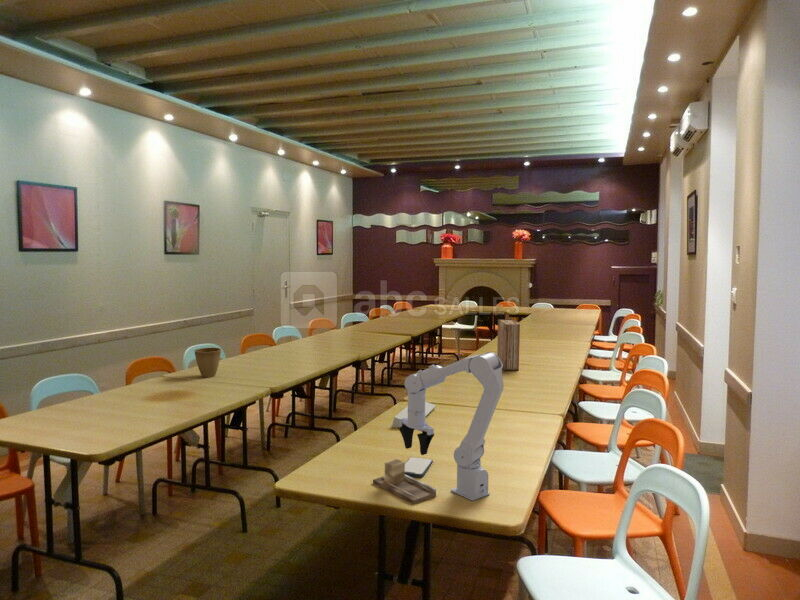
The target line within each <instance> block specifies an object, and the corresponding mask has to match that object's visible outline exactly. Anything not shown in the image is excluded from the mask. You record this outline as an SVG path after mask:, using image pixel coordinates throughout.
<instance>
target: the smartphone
mask: <svg viewBox="0 0 800 600" xmlns="http://www.w3.org/2000/svg"><path fill="white" fill-rule="evenodd" d="M433 460H434V459H430V458H421V457H414V456H411V457H409V458H408V459H407V461H405V474H406V475H408V476H410V477H412V478H414V479H421V478H424V476H425V475H426V474H425V473H427V472H428V471H429V470H430V468H431V467H432V465H433V464H434V461H433ZM432 463H433V464H432ZM431 464H432V465H431Z"/></svg>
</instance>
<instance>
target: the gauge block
mask: <svg viewBox="0 0 800 600" xmlns="http://www.w3.org/2000/svg"><path fill="white" fill-rule="evenodd" d="M405 463H406V461H403V460H400V459H397V458H395V459H391V460H388V461H386V462H384V476H385V481H386V482H388V483H390V484H393V485H394V484H397V483H399V482H402V481H404V480H405Z"/></svg>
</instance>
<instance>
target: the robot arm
mask: <svg viewBox="0 0 800 600" xmlns="http://www.w3.org/2000/svg"><path fill="white" fill-rule="evenodd" d="M428 367H429V368H425V369H424V370H422V369H419V370H418V371H417V372H416V373H413V374H409V375H408V376H407V377H406V378H405V379H404V387H405V390H407V406H408V419H406V418H402V419H400V425H402V427H399V428H398V431H399V433H400V434H401V437H402V439H403V444H404V447H405V449H411V448H412V446H413V438H414V437H413V436H414V432H415V430H417V431H418V432H421V433H417V434H416V435H417V438H418V441H419V452H420V455H421V456H425V455H427V454H428V450H429V448H430V443H431V441H432V440H433V438H434V436H435V433H434V428H435V427H431V426H430V425H428V421H426V418H425V401H426V393H427V389H429V388H431V387H434V386H437V385H440V384H442V383H444V382H445V381H446V379H447V377H449V376H453V375H456V374H457V373H461V372H464V371H465V372H466V373H467V374H472V375H473V376H474V377H475V379H477V380H478V381H479V383H480V384H481V385H482V388H483V392H482V395H481V397H480V399H479V402H478V405H477V406H476V410H475V413H474V415H473V417H472V420H471V423H470V425H469V428H468V430H467V434H465V436H464V438H463V439H462V440H461V442H460V444H459V446H458V447H456V448H455V449H454V451H453V459H454V461H455V463H456V466H457V467H456V487H454V488H451V489H450V491H451V492H452V493H455V494H457V495H459V496H461V497H464V498H466V499H467V500H470V501H473V502H474V501H476V500H478V499H481V498H484V497H486V496H489V495H491V493H490V492H489V473H488V471H487V470H486V469H485V468H484V467H482V461H481V458H482V457H483V456H484V454H485V444H486V443H485V442H486V439H485V436H486V433H487V432H488V428H489V426H490V423H491V421H492V419H493V416H494V414H495V412H496V408H497V406H498V403H499V400H500V398H501V395H502V394H503V392H504V391H503V390H504V378H503V369H502V367H503V364H502V362H501V360H500V359H499V357H498V356H497V354H496V353H495V352H492V351H489V352H485V353H480V354H475V355H470V356H467V357H464V358H462V359H460V360H457V361H455V362H453V363H452V362H451V363H450V364H448V365H445V366H441V365H438V364H436V365H435V364H431V365H429V366H428Z"/></svg>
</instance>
